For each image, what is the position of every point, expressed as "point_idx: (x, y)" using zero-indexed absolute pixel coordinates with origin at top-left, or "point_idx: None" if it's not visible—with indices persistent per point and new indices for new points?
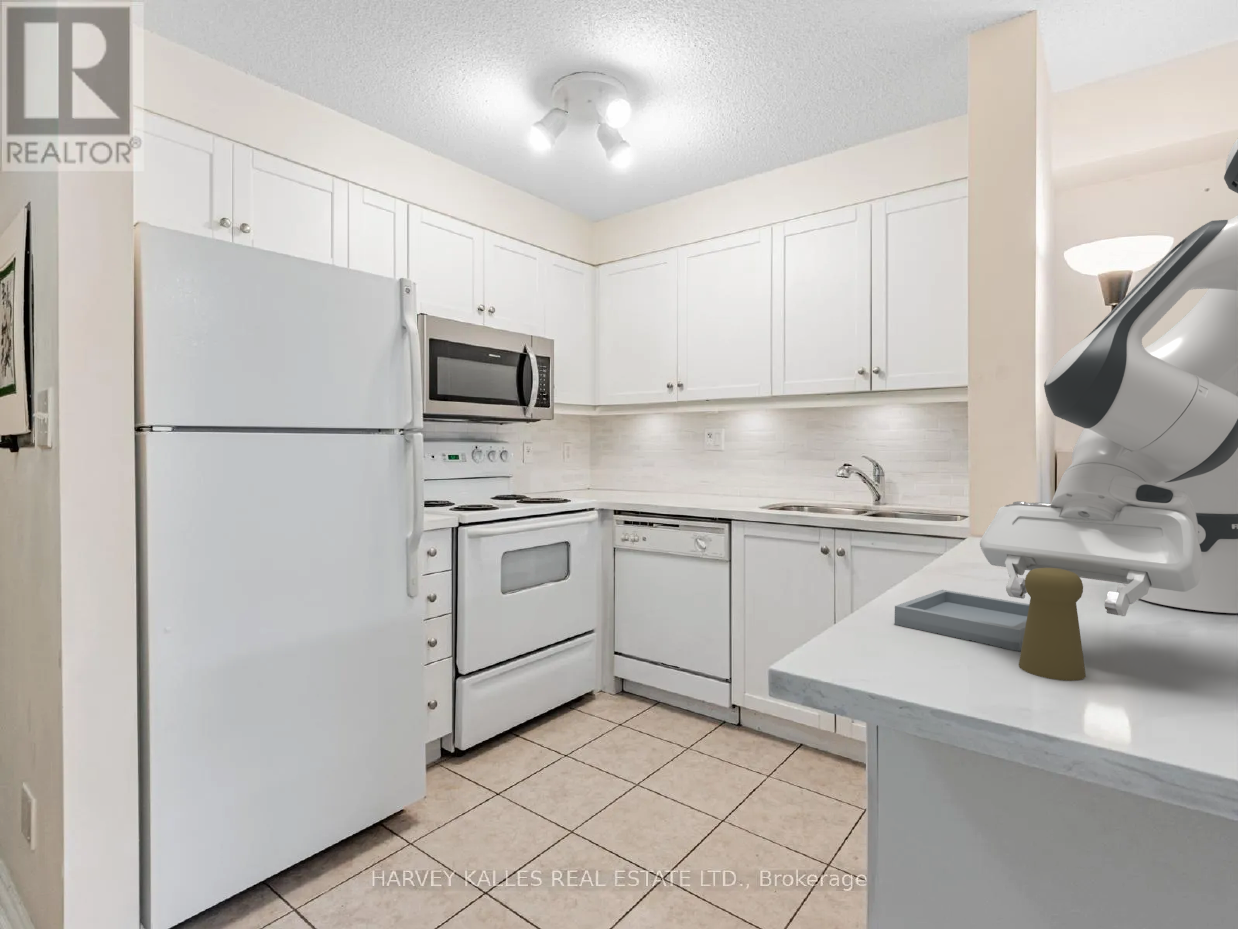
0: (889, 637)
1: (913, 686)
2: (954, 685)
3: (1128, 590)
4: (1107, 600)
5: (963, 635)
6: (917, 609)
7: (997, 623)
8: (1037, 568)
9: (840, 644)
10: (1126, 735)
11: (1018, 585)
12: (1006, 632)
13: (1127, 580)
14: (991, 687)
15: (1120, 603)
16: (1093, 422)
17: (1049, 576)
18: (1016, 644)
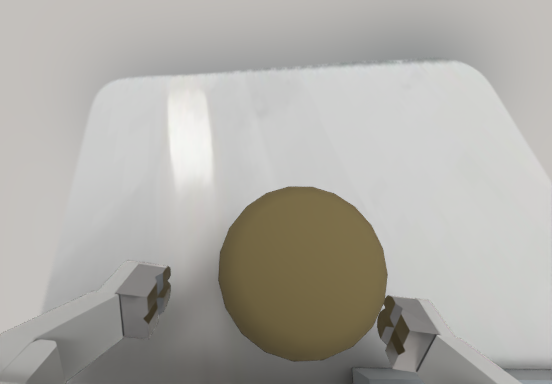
0: (519, 268)
1: (366, 101)
2: (340, 130)
3: (81, 297)
4: (157, 270)
5: None
6: None
7: None
8: (368, 265)
9: (518, 177)
10: (171, 111)
11: (403, 305)
12: (390, 376)
13: (59, 357)
14: (310, 152)
15: (126, 262)
16: None
17: (300, 189)
18: (361, 370)
